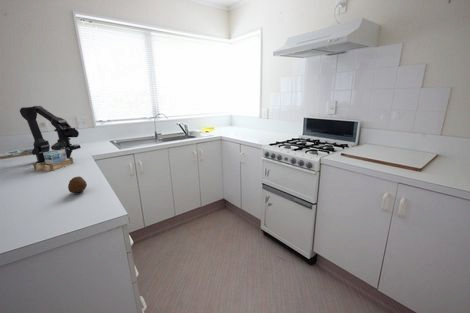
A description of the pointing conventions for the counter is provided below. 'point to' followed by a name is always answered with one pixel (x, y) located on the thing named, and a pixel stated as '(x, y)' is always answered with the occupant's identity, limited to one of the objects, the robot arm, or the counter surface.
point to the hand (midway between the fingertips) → (68, 158)
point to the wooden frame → (52, 167)
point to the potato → (77, 185)
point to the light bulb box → (55, 156)
